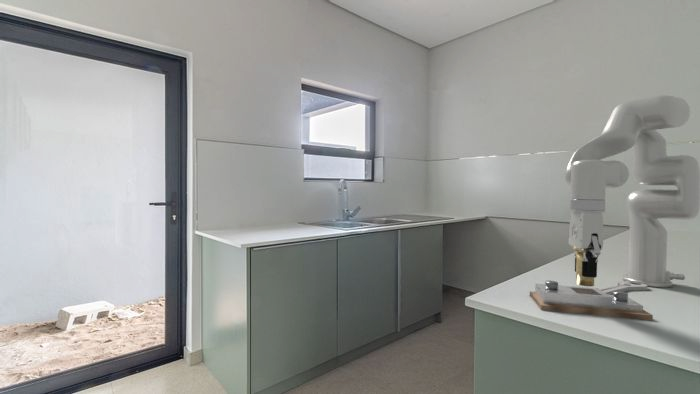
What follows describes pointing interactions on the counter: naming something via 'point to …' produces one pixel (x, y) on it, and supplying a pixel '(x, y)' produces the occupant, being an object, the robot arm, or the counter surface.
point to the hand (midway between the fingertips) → (585, 273)
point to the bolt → (579, 278)
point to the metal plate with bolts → (585, 297)
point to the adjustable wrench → (624, 287)
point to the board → (591, 310)
